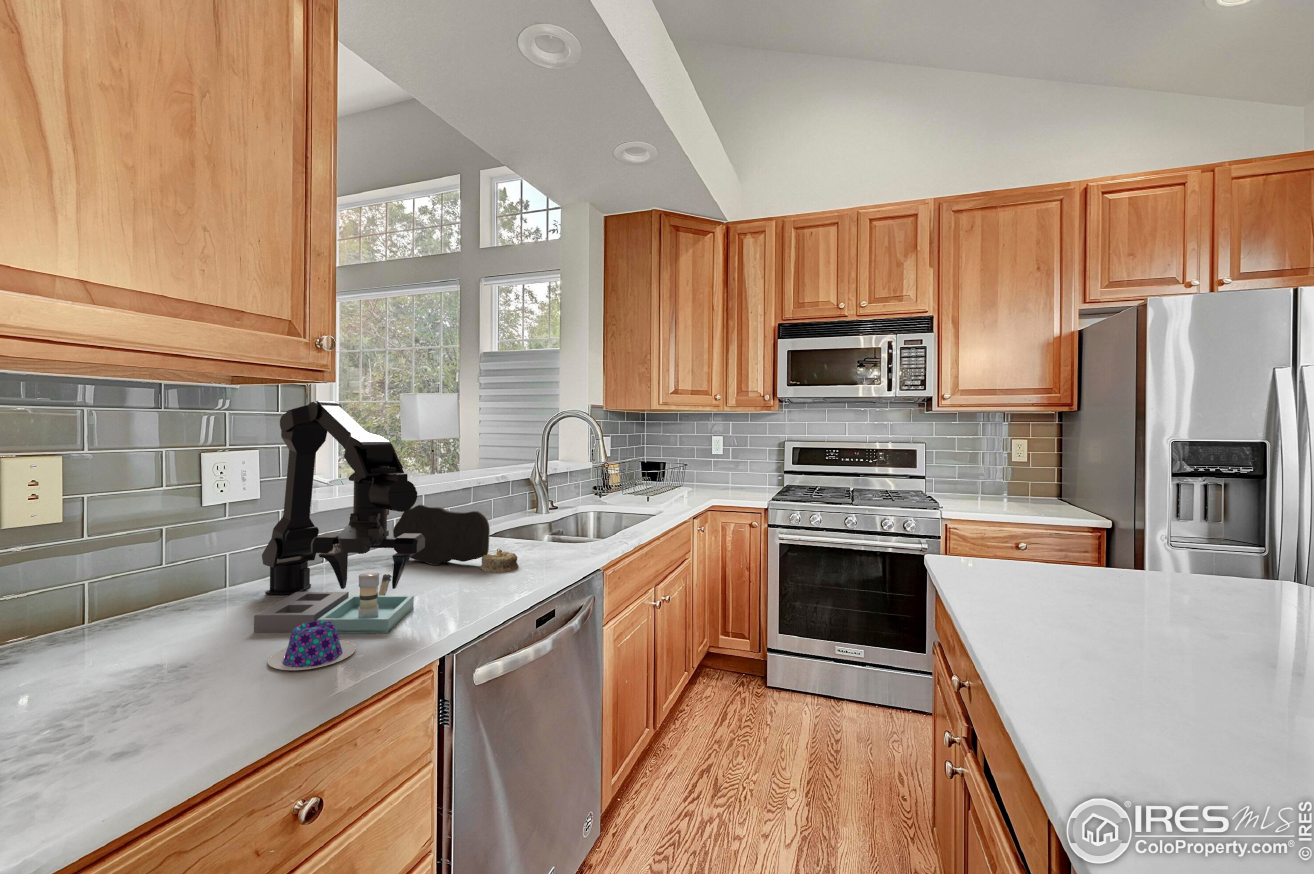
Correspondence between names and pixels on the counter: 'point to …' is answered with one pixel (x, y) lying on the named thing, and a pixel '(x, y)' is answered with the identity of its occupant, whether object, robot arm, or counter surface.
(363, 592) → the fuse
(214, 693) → the counter surface
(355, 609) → the parts tray
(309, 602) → the block
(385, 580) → the tomahawk
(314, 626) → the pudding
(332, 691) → the counter surface
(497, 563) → the cake
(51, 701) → the counter surface
